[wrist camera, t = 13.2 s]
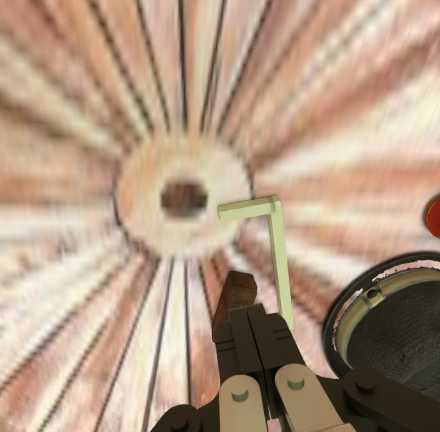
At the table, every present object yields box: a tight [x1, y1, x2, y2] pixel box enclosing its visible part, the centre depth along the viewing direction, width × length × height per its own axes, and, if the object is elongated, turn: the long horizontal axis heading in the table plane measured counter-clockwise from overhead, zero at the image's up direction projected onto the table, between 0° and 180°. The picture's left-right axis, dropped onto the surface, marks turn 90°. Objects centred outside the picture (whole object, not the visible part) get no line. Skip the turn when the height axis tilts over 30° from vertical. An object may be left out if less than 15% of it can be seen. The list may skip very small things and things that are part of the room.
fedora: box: [323, 254, 440, 402], centre depth 51 cm, size 25×27×12 cm
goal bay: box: [217, 195, 294, 330], centre depth 49 cm, size 8×21×2 cm, turn 9°
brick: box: [212, 271, 257, 343], centre depth 50 cm, size 11×4×5 cm, turn 165°
